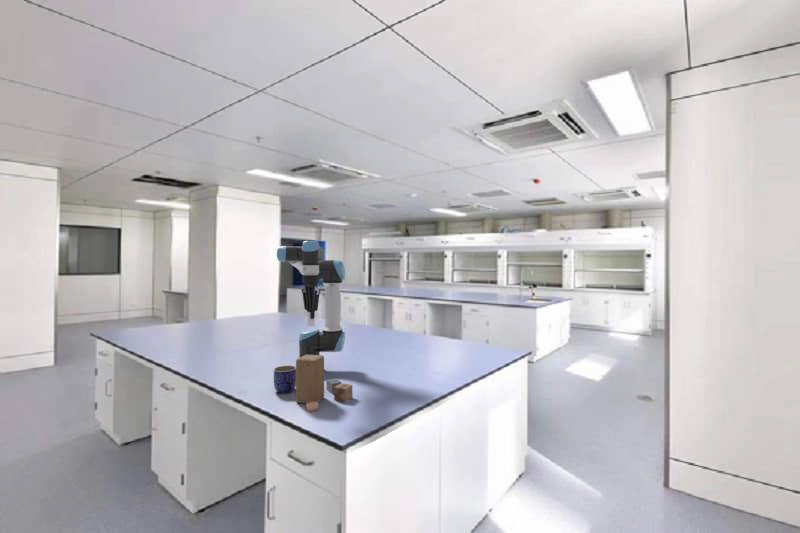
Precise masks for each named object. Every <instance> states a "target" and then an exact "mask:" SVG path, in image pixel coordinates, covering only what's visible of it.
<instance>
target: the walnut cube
mask: <svg viewBox="0 0 800 533" xmlns="http://www.w3.org/2000/svg"><path fill="white" fill-rule="evenodd" d="M333 398H334V400H333V401H338V402H342V403H343V402H344V403H346V402H348V401H349V400H351V399H353V384H347V383H341V384H339V385H338V386H336V387H334V396H333Z"/></svg>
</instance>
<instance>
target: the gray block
mask: <svg viewBox="0 0 800 533" xmlns="http://www.w3.org/2000/svg"><path fill="white" fill-rule="evenodd" d="M341 383H342V381H340V379H337V378H331V379H326V385H325V386H326V391H327V392H329V393H330V394H331V395H333V394H334V387H336V386H338V385H339V384H341Z"/></svg>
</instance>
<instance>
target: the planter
mask: <svg viewBox="0 0 800 533" xmlns="http://www.w3.org/2000/svg"><path fill="white" fill-rule="evenodd" d="M273 387H274V390H275V391H276V392H277V393H279V394H287V393H288V392H289V393H291V392H293V391H294V390H296V365H280V366H277V367H274V368H273ZM289 393H288V394H289Z"/></svg>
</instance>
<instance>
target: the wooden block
mask: <svg viewBox="0 0 800 533" xmlns="http://www.w3.org/2000/svg"><path fill="white" fill-rule="evenodd" d="M295 367H296V387H295V403H297V404H305V405H307V402H309V401H318V403H319V402H320V401H322V399H323V398H324V397H325V356H324V355H320V354H319V355H304V356H302V357H300V358H299V357H298V358H296V359H295Z"/></svg>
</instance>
